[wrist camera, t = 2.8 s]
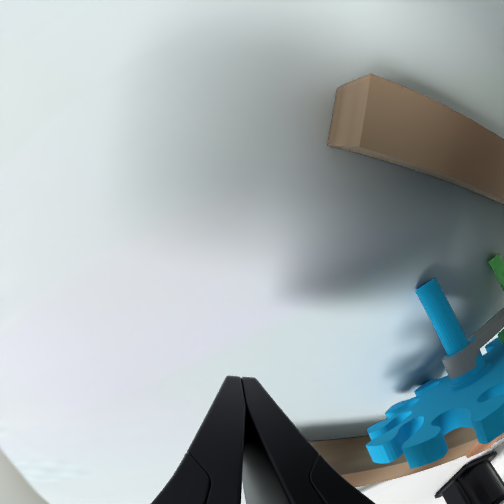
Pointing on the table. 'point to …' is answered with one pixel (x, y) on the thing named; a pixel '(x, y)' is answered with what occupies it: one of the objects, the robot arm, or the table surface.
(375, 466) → the guide channel
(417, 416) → the gear
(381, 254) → the table surface
